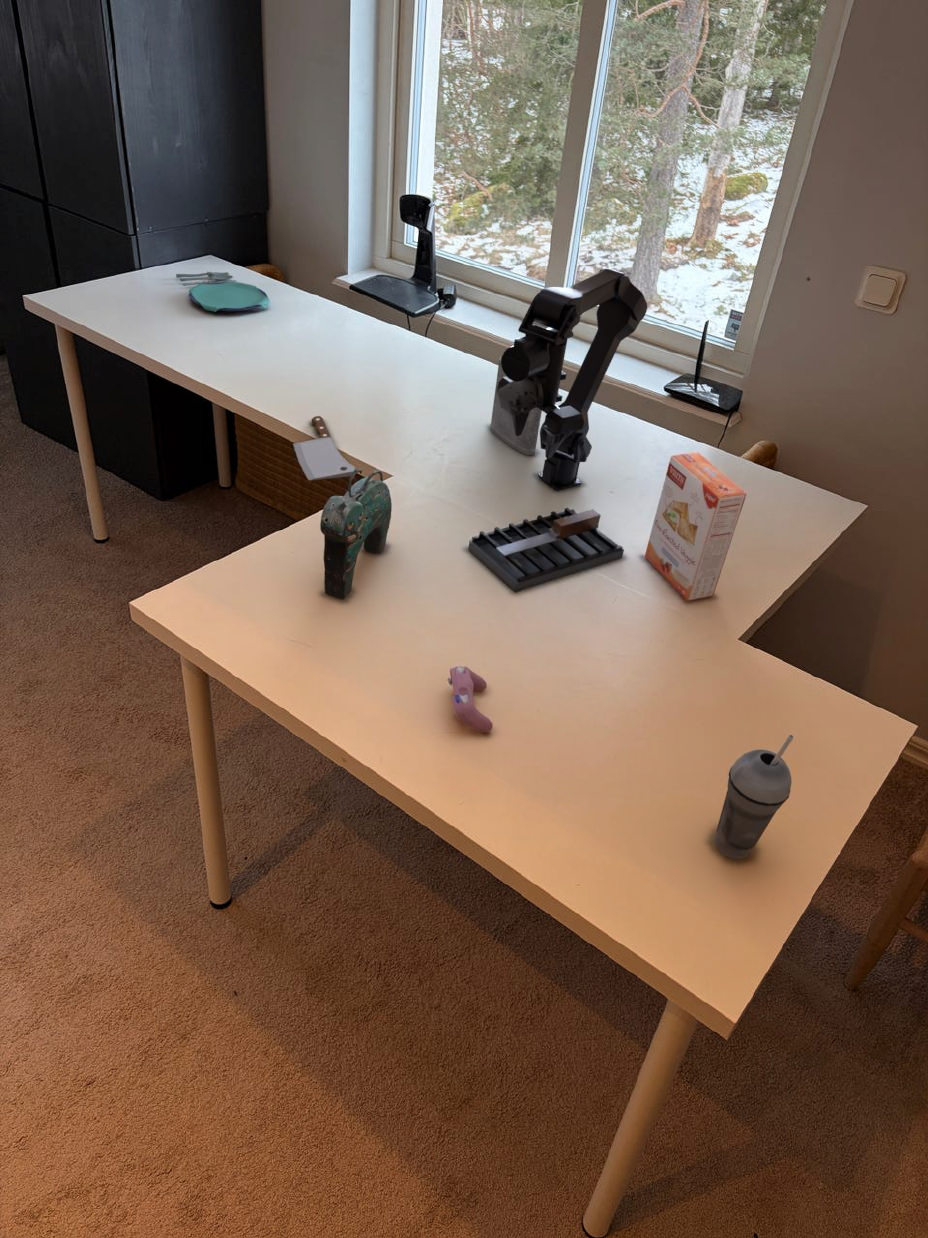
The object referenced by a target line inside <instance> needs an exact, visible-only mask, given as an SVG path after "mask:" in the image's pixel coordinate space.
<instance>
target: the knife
mask: <svg viewBox="0 0 928 1238" xmlns="http://www.w3.org/2000/svg"><path fill="white" fill-rule="evenodd" d="M600 519H601V514H600V513H598V511H596V510H594V509H589V510H584V511H581V512H578V513H577V514H574V515H571V516H567V517H564V518H560V519H557V520H554V523H553V528H550V529H548V533H545V534H541V535H538V536H535V537H531V538H528V539H524V540H521V541H517V542H514V543H511V544H507V545H504V546H500V547H497V548H496V550H497V551H499V552H500V553H501V554H502V555H503V556H504V557H506V556H509V555H512V554H516V553H519V552H522V551H526V550H529V549H532V548H536V547H539V546H543V545H546V544H549V543H553V542H556V541H559V540H560V539H563V538H566V537H570V536H573V535H576V534H580V533H583V532H587V531H590V530H593V529H599V525H600Z"/></svg>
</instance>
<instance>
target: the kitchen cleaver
mask: <svg viewBox="0 0 928 1238" xmlns="http://www.w3.org/2000/svg"><path fill="white" fill-rule="evenodd" d="M311 424H312V425H313V426H314V427H315V431H316V433H317V435H318V438H314V439H310V440H305V441H301V442H294V443H292V445H293V448H294V452H295V454H296V458H297V461H298V464H299V466H300V468H301V469H302V471H303V473H304V475H305V477H306V479H307V480H308V481H310V482H311V481H318V480H319V481H320V480H329V479H338V478H347V477H348V478H349V477H350V476H351V475H352V473H353V472H354V471H355V470H356V466H354V465H353V464H352V463H351V462H348V460H346V458H345V457H344V456H343V455H342V453H340V451H339V450H338V448H337V446H336V444H335V442H334V440H333V439H332V436H331V433H330V431H329V429H328V427H327V424H326V422H325V420H324V418H323V417H322V416H320V415H315V416H313V417H312V418H311Z"/></svg>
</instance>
